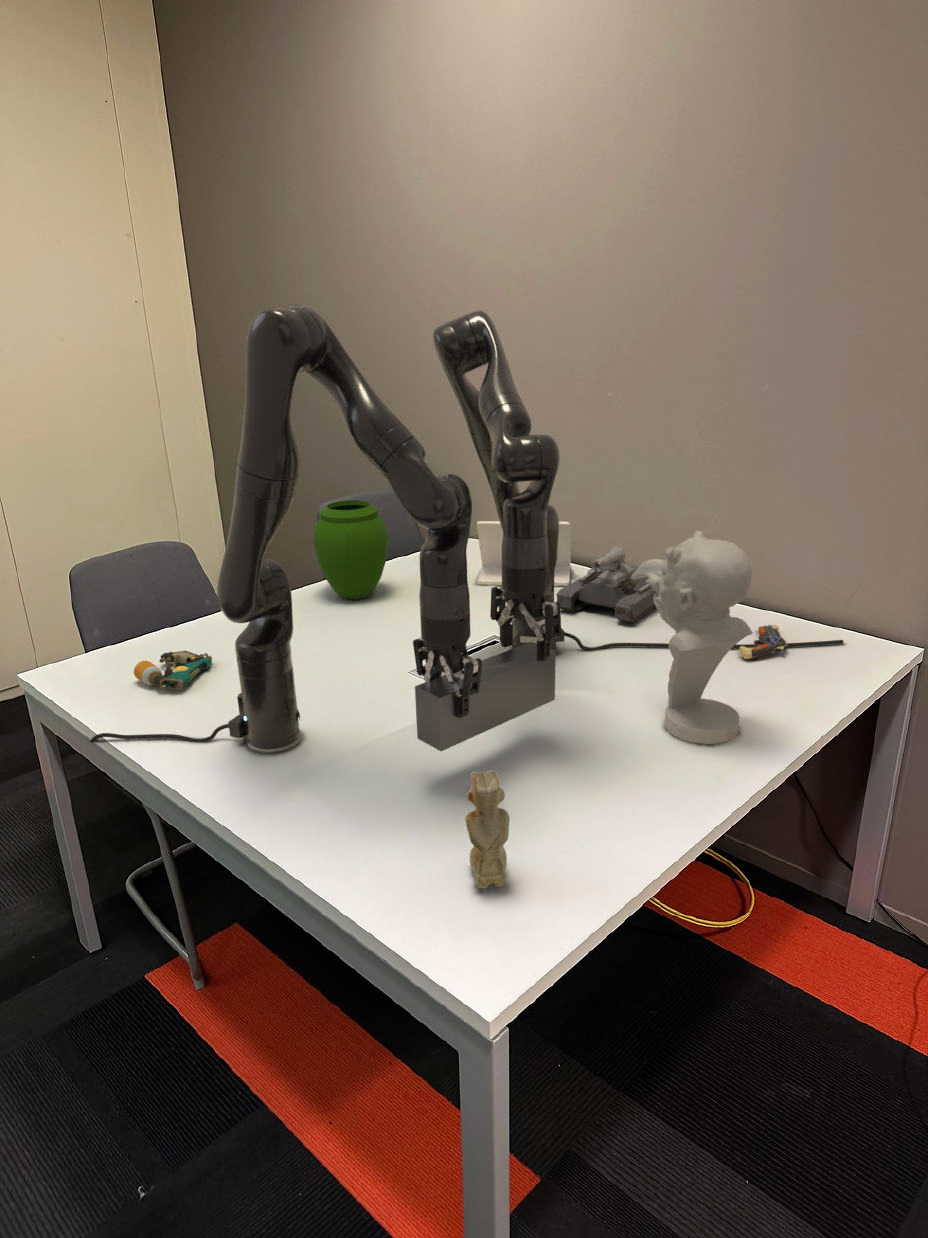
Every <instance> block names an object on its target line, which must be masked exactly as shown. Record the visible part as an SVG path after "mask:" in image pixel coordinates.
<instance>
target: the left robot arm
mask: <svg viewBox="0 0 928 1238" xmlns="http://www.w3.org/2000/svg"><path fill="white" fill-rule="evenodd" d="M246 336H247V337H246V344H245V345H246V346H245V348H246V349H245V395H244V396H245V397H244V401H245V402H244V410H243V419H242V429H241V440H240V446H239V447H240V448H239V453H238V457H237V458H238V459H237V467H236V474H235V475H236V477H235V483H234V496H233V505H232V510H231V517H230V523H229V531H228V536H227V541H226V544H225V545H226V546H225V549H224V552H223V553H224V554H223V557H222V561H221V565H220V568H219V569H220V570H219V574H218V579H217V586H216V587H217V589H216V590H217V592H216V594H217V601H218V605H219V608H220V610H221V612H222V614H223V615H224V616H225V617H226V618H227V619H228V620H229V621H230V622H232V623H234V624H246V623H248V624H247V625H246V627H245V628H244V629H243V631H242V632H241V633H240V634H239V635H238V636H237V638H236V639H235V643H234V649H235V657H236V663H237V671H238V678H239V686H240V692H239V693H238V694H237V697H236V698H237V699H236V700H237V705H238V715H236V716H234V717H233V718H232V719H230V720H229V721H228V722H227V723H225V724H222V725H220V726H218V727H216V728H214V730H213V732H212V733H211V734H210V735H209V736H207V737H201V738H194V737H189V736H185V735H181V734H175V733H174V734H173V733H150V734H147V733H146V734H145V733H144V734H119V733H111V732H101V733H98V734H95V735H94V736H93V737H92V738H91V739H90V740H89V741H88V742H89V743H94V742H96V741H97V740H99V739H101V738H114V739H121V740H138V739H139V740H140V739H142V740H143V739H176V740H182V741H186V742H189V743H191V742H192V743H207V742H209V741H212V740H213V739H215V737H216V736H217V734H218V733H219V732H221V731H222V730H225V729H228V731H229V736H230V737H231V738H236V739H240V740H241V739H242V743H243V744H244V745H247V747H248V748H249V749H250V750H251V751H254V752H256V753H263V754H272V753H273V754H275V753H280V752H284V751H287V750H290V749H291V748H294V747H295V746H297V744H298V743H300V741H301V738H302V733H301V730H300V722H301V714H300V711H299V709H298V702H297V693H296V692H297V691H296V684H295V683H296V682H295V674H294V666H293V656H292V645H291V642H292V639H293V636H294V635H293V634H294V617H293V598H292V589H291V588H292V587H291V584H290V583H291V582H290V579H289V577H288V574H287V572H286V570H285V569H284V568H283V566H282V565H281V564H280V563H279V562H278V561H276V560H275V559H272V558H267V557H265V555H266V552H267V550H268V547H269V545H270V543H271V542H272V540H273V539H274V537H275V536H276V534H277V533H278V531H279V530H280V528H281V526H282V525H283V523H284V522H285V520H286V518H287V516H288V514H289V513H290V510H291V509H292V506H293V505H294V501H295V497H296V494H297V489H298V488H297V487H298V482H299V481H298V480H299V475H300V468H301V467H300V466H301V456H300V455H301V454H300V450H299V446H298V443H297V439H296V436H295V433H294V430H293V427H292V421H291V407H292V406H291V405H292V401H293V400H292V399H293V393H294V388H295V384H296V380H297V376H298V374H300V373H303V372H305V373H306V374H308V375H309V376H310V377H311V378H313V379H314V380H315V381H316V382H318V383H319V385H320V386H321V387H323V388H324V390H326V391H327V393H328V394H329V396H330V398H332V400H333V402H334V403H335V405H336V407H337V409H338V411H339V413H340V415H341V418H342V420H343V422H344V425H345V428H346V430H347V432H348V434H349V435H350V438H351V440H352V441H353V442H354V444H355V445H356V447H357V448H358V449H359V450H360V452H361V453H363V455H364V456H365V457H366V458H367V459H368V460H369V461H370V463H372V464H373V466H374V467H375V468H376V469H377V470H378V471H379V472H380V473H381V474H382V475H383V476H384V477H385V478H386V479H387V481H388V483H389V484H390V487H391V489H392V491H393V492H394V494H395V496H396V497H397V499H398V501H399V502H400V504H401V505H402V507H403V508H404V510H405V512H406V513H407V514H408V515H409V517H410V518H411V520H413V521H414V522H415V523H416V524H418V525H419V526H421V527H422V528H424V529H426V530H427V531H426V532H427V533H426V538H425V541H424V542H423V544H422V546H421V548H420V551H419V578H420V587H419V615H420V637H419V638H416V639H413V640H412V646H413V653H414V660H415V668H416V674H418V676H423V679H424V683H425V682H427V681H430V680H433V679H435V678H438V677H440V676H442V674H444V675H446V676H447V679H448V682H449V683H450V684H452V686H453V689H454V693H455V695H456V696H455V716H456V717H457V718H462V717H464V716H467V715H468V713H469V711H470V709H469V696H471V695H473V694H476V693H479V690H480V680H481V670H482V659H481V658H480V657H478V658H477V657H476V658H473V657H471V656H470V655H469V652H468V648H467V643H468V641H469V639H470V638H471V603H470V602H471V599H470V597H471V596H470V589H469V583H468V556H467V550H468V549H467V548H468V542H469V539H470V538H469V537H470V531H471V524H472V523H471V521H472V515H473V513H472V512H473V502H472V501H473V500H472V495H471V491H470V488H469V486H468V484H467V483H466V481H465V480H464V479H463V478H461V477H460V476H458V475H457V474H454V473H442V474H439V475H437V476H436V475H435V474H434V473H433V471H432V469H430V467H429V466H428V464H427V463H426V462H425V459H426V450H425V448H424V447H423V445H422V444H421V442H420V441H419V440H418V439H417V438H416V437H415V436H414V434H413V433H412V432H411V431H410V430H409V429H408V428H407V427H406V426H405V424H403V422H402V421H400V419H399V418H398V417H397V416H396V415H395V414H394V413H393V412H392V411H391V409H390V408H389V407H388V406H387V405H386V404H385V402H384V401H383V400H382V399H381V398H380V397H379V395H378V394H377V392H376V391H375V390H374V389H373V388H372V385H370V383H369V382H368V381H367V379H366V377H365V376H364V375H363V374H362V371H360V370H359V368H358V367H357V365H356V364H355V362H354V361H353V359H352V358H351V356H350V355H349V354H348V352H347V351H346V349H345V348H344V346H343V344H342V343H341V342H340V340H339V338H338V337H337V335H336V334H335V332H334V331H333V329H332V328H331V327H330V325H329V324H328V322H327V320H325V319H324V318H323V316H322V315H321V314H320V313H319V312H318V311H317V310H315V309H314V308H313V307H312V306H309V305H306V304H299V303H296V304H295V303H294V304H287V305H280V306H279V305H278V306H274V307H269V308H265V309H262V310H261V311H259V312H258V313H257V314H256V315H255V316H254V317H253V319H252V320H251V323H250V324H249V327H248V331H247V335H246ZM424 661H425V665H424V663H423V662H424ZM460 670H461V674H460V675H458V676H454V673H457V672H459V671H460ZM460 680H461V681H462V684H463V687H462V688H460V685H459V681H460ZM471 684H472V686H471ZM299 721H300V722H299Z"/></svg>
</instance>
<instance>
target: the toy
mask: <svg viewBox="0 0 928 1238" xmlns="http://www.w3.org/2000/svg"><path fill="white" fill-rule="evenodd" d="M626 557H627V556H626V551H625V549H624V548H622V547H621V546H614V547H612V548H611V549H610V550H609V552H608V553H607V554H605V555H604V556H601V557H599V558H598V559H597V557H596V558H594V559H593V560H592V561H590V562H589V563H590V564H591V565H592V567H591V568H590V569H589V570H587V573H586V575H584V576H582V577H580V578H578V579H577V580H575V581H573V582H570V583H569V585H567V586H563V587H562V588H560V589H559V590H558V591H557V592H556V602H559V603H560V608H561V610H562V611H566V612H572V613H575V612H577V611H579V610H581V609H582V608H585V607H586V606H588V605H592V606H598V607H602V608H603V607H604V608H609V609H613V610H614V618H615V619H617V620H618V621H621V622H626V623H631V624H634V623H635V622H637V621H638V620H640V619H641V618H642V617H644V616H645V615H647V614H648V613H650V612H651V611H652V610H654V609H655V608H656V605H655V604H654V600H653V597H654V594H655V593H656V592H655V591H654V590H653V589H652V587H651V583H650V579H649V578H647V577H644V578H640V579H635V580H634V579H632V578H631V576H632V575H633V574H634V573H635V571H636V570H637V569H638V568H639V566H635V565H629V564H628V563H627V562H626V561H625V559H626Z"/></svg>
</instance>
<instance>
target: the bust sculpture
mask: <svg viewBox="0 0 928 1238" xmlns="http://www.w3.org/2000/svg"><path fill="white" fill-rule="evenodd" d="M664 554H665V559H660V558H653V559H648V560H645V561H644V562H642V563H641V564H640V565H639V566H638V567H639V568H638V569H637V570H636V571H635V573H634V574H633V575H632V576H631V578H632V579H634V580H635V579H640V578H644V577H647V578H649V579H650V583H651V587H652V589H653V590H654V591H655V592H656V593H655V594H654V597H653V600H654V604H655V605H656V607H655V608H656V611H657V612H658V614H659V615H660V618H661V619H662V620H663V622H665V623H666V624H667V625H668V626H669V627H670V628H671V629H672V630H673V631H675V634H673V635H672V636H671V638H669V641H668V644H669V647H668V649H669V653H670V654H671V657H672V658H673V660H672V663H671V666H670V669H669V673H668V682H667V694H668V696H667V697H668V700H667V705H668V706H666V708H665V718H664V726H665V728H666V730H667V731H668V732H669V733H670V734H671V735H673V736H675V737H676V738H679V739H680V740H683V741H687V742H691V743H696V744H703V745H713V744H721V743H726V742H729V741H731V740H733V739H734V738H736V736H738V733H739V729H740V728H739V727H740V715H739V714H740V713H738V711H737V710H736V709H735V708H734V707H732V706H730V705H728V704H727V703H724V702H721V701H719V700H714V699H709V698H702V696H703V695H704V694H703V693H704V692H705V690H706V687H707V685H708V684H709V681H710V680H711V678H712V676H713V674H714V673H715V671H716V670H717V668H718V667H719V665H720V664H721V662H722V661H723V660H724V658H725V656H726V655H727V654H728V653H729V652H730V651H731V650H732V649H733V648H732V647H733V646H735V645H738V643H739V642H741V641H742V640H743V639H745V638H747V637H749V636H751V635H753V634H754V632H753V630H752V629H751V628H750V626H749V624H748V623H747V622H746V621H745V620H744V619H743V618H740V617H737V616H731V614H730V613H731V610H730V608H732V607H734V606H736V605H737V604H739V603H740V602H741V601H742V600H744V599H745V597H746V595H747V594H748V592H749V590H750V586H751V583H752V574H753V573H752V572H753V571H752V565H751V561H750V559H749V557H748V555H747V554H746V552H745V551H744V550H743V549H742V548H741V547H740V546H739V545H737V544H736V543H734V542H731V541H728V540H723V539H711V538H707V536H706V534H705V532H703V530H696V531H694V533H693V536H691V537H689V538H687V539H684V541H682V542H681V543H679V544H678V545H677V546H675V547H674V546H669V547H667V548H666V551H665V553H664Z"/></svg>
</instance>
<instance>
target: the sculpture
mask: <svg viewBox="0 0 928 1238" xmlns="http://www.w3.org/2000/svg"><path fill="white" fill-rule="evenodd" d="M470 776H471V786H470V790H469V791H468V792H467V794H466V799H467V801H469V802H470V803H471V804H472V805H473V806H474V807H475V809H474V810H472V811H470V812H467V813H466V814H465V815H464V816H465V817H464V820H465V821H464V822H465V825H466V830H467V833H468V837H469V840H470V843H471V844H472V845H473V847H472V848H471V849H470V852H469V864H470V865H469V866H470V868H471V871H472V872H473V875H474V878H475V880H476V881H475V882H476V884H477V887H478V888H479V889H487V888H489V886H490V884H493V886H494V887H496V888H497V887H498V888H499V887H500V888H501V887H504V886H505V873H506V870H507V858H508V857H507V852H506V850H505V847H504V845H505V844H506V842H507V841H508V839H509V834H510V814H509V812H508V811H507V810H506V809H505V808H501V807H499V805H500V804H501V802H503V801H504V799H505V797H506V792H505V789H503V787H501V781H500V778H499V776H498V773H497V772H496V770H493V769H492V770H488V771H484V772H479V771H473V772H471V773H470Z"/></svg>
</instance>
